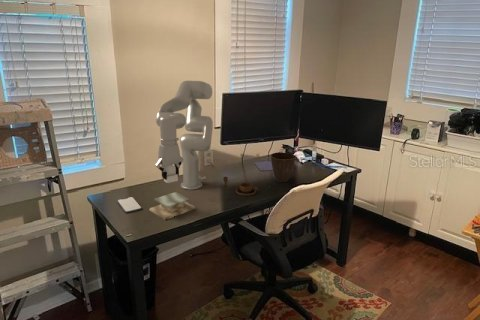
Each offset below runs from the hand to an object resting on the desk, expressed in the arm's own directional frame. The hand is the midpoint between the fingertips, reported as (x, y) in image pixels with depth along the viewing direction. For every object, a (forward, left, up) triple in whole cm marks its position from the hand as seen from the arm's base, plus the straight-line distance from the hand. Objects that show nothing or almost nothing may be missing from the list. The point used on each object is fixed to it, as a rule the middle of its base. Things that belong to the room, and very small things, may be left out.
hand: (170, 176), depth 178 cm
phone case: (+14, -19, -19) cm, 30 cm away
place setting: (-45, +5, -19) cm, 49 cm away
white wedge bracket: (0, 0, -2) cm, 2 cm away
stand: (0, 0, -18) cm, 18 cm away
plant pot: (-73, +11, -18) cm, 76 cm away
